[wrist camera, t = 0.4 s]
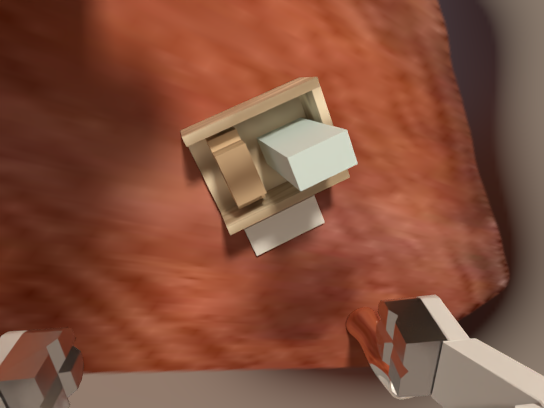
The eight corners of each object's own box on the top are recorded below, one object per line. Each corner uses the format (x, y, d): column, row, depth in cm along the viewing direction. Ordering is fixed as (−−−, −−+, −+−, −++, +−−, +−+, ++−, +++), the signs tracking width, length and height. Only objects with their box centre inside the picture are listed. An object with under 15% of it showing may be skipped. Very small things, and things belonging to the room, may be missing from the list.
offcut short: (212, 152, 47) (214, 157, 44) (240, 139, 48) (245, 143, 45) (234, 199, 50) (238, 206, 47) (261, 187, 50) (266, 193, 48)
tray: (180, 130, 50) (182, 137, 44) (298, 77, 52) (317, 76, 46) (223, 217, 56) (230, 235, 49) (329, 166, 57) (350, 177, 51)
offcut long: (204, 137, 50) (207, 141, 47) (231, 125, 51) (236, 128, 47) (234, 200, 54) (239, 209, 50) (259, 189, 55) (265, 196, 51)
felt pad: (243, 228, 57) (244, 229, 56) (313, 194, 58) (314, 195, 58) (256, 254, 59) (257, 256, 58) (323, 221, 60) (324, 222, 59)
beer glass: (374, 335, 70) (424, 397, 56) (340, 338, 68) (383, 403, 55) (381, 303, 68) (435, 359, 54) (346, 305, 66) (393, 363, 53)
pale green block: (256, 138, 52) (287, 157, 38) (300, 117, 53) (346, 129, 39) (266, 163, 54) (300, 191, 40) (309, 143, 54) (357, 163, 41)
